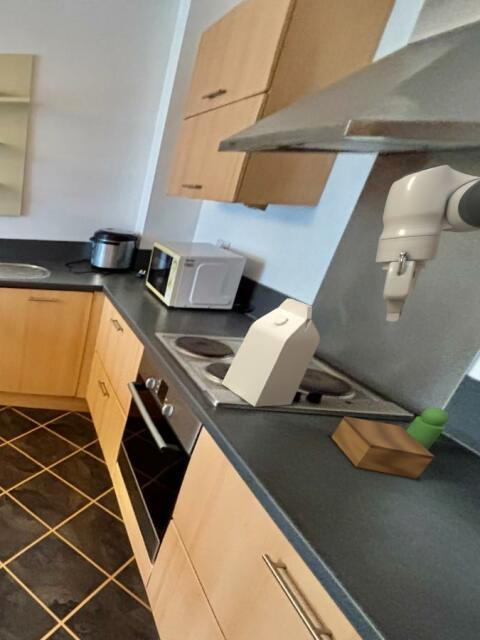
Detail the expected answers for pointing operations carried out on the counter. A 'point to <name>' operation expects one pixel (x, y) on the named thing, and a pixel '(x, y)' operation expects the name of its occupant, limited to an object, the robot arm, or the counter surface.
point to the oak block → (381, 447)
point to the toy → (428, 426)
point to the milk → (274, 356)
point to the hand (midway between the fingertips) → (393, 319)
